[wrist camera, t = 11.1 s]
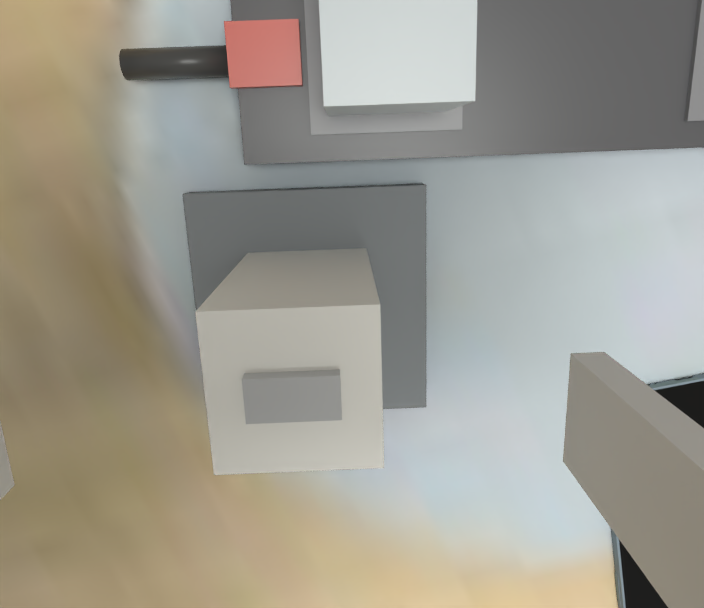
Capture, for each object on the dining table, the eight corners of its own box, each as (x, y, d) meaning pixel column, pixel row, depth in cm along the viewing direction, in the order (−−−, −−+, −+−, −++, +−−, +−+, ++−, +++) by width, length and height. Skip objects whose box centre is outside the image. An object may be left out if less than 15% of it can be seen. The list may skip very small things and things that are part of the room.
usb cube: (327, 116, 19) (323, 106, 15) (321, -15, 18) (315, -67, 14) (444, 111, 19) (475, 100, 15) (446, -20, 18) (479, -73, 14)
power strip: (147, 166, 21) (125, 169, 19) (120, -40, 20) (93, -63, 17) (824, 141, 22) (876, 140, 19) (862, -66, 20) (924, -92, 18)
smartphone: (776, 364, 24) (780, 646, 27) (761, 356, 25) (766, 630, 28) (601, 397, 24) (629, 672, 28) (592, 389, 25) (620, 657, 29)
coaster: (213, 405, 24) (208, 416, 23) (189, 192, 22) (182, 194, 21) (422, 396, 24) (426, 407, 23) (422, 183, 22) (426, 185, 21)
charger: (257, 363, 23) (210, 484, 14) (248, 252, 21) (190, 316, 13) (369, 358, 23) (385, 476, 14) (366, 248, 21) (381, 309, 13)
